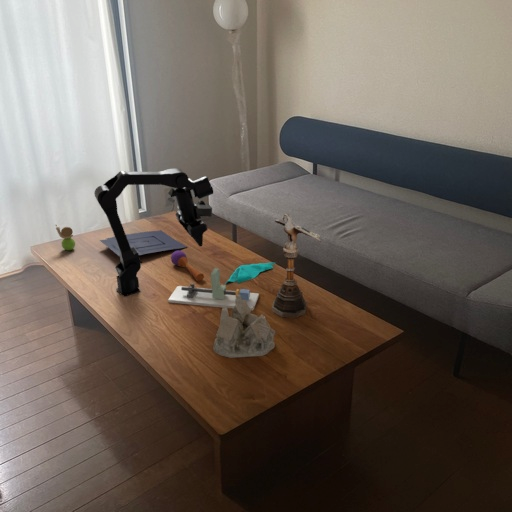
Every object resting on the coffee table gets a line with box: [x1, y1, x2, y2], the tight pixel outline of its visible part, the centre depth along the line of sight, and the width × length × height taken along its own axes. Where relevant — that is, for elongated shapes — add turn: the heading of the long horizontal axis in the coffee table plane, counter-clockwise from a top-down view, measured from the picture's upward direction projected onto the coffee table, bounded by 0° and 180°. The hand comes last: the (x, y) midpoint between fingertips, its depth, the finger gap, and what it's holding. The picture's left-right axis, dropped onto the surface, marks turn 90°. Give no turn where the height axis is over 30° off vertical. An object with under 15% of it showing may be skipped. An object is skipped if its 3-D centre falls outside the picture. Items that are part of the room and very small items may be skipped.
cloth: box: [224, 262, 277, 286], centre depth 197 cm, size 26×14×2 cm, turn 121°
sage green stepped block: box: [210, 267, 227, 299], centre depth 176 cm, size 4×5×10 cm
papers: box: [99, 230, 188, 258], centre depth 219 cm, size 24×30×4 cm
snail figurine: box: [55, 224, 76, 251], centre depth 215 cm, size 5×6×12 cm
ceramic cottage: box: [212, 295, 276, 359], centre depth 151 cm, size 16×16×15 cm
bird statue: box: [271, 213, 322, 319], centre depth 167 cm, size 17×13×35 cm
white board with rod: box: [167, 282, 260, 312], centre depth 178 cm, size 30×10×5 cm, turn 78°
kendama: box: [170, 250, 205, 282], centre depth 198 cm, size 6×6×20 cm
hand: (196, 241), depth 189 cm, fingers open, 9 cm apart
